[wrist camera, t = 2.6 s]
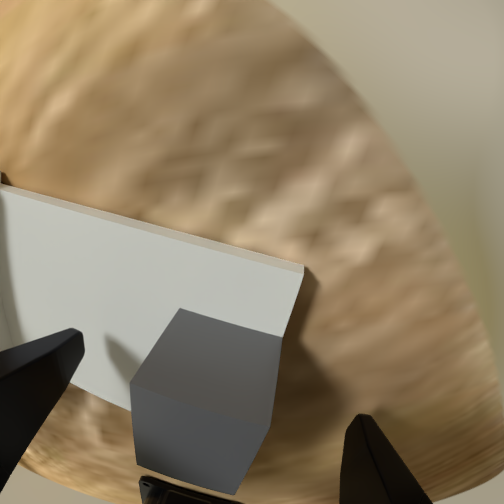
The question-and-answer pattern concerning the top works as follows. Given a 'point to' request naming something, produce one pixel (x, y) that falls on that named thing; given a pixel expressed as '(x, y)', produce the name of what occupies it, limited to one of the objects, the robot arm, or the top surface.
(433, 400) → the top surface
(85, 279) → the grey board with frame
